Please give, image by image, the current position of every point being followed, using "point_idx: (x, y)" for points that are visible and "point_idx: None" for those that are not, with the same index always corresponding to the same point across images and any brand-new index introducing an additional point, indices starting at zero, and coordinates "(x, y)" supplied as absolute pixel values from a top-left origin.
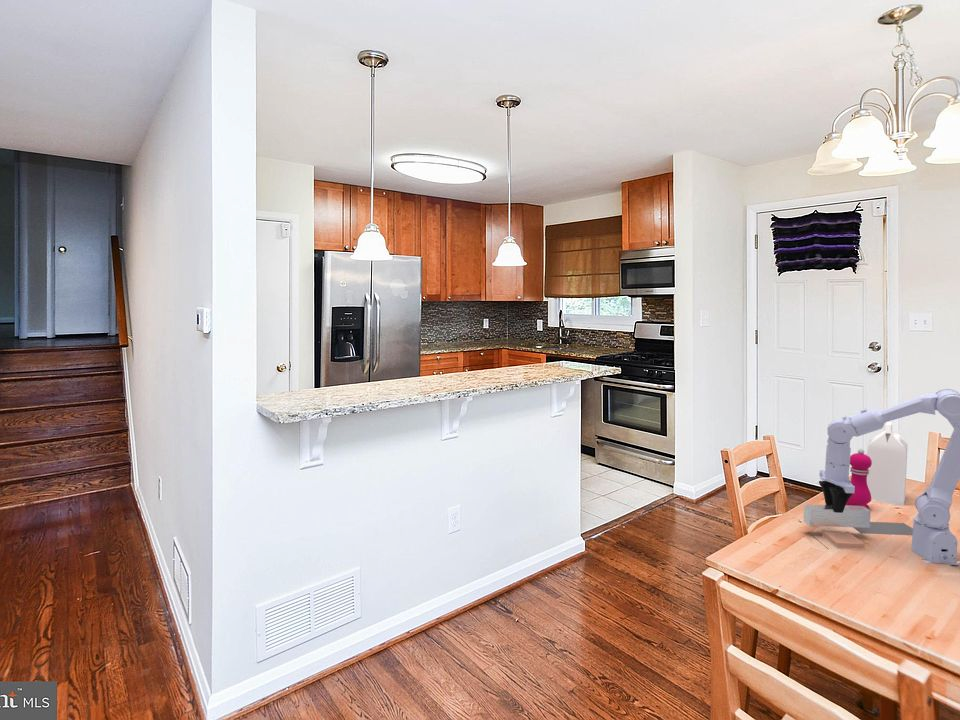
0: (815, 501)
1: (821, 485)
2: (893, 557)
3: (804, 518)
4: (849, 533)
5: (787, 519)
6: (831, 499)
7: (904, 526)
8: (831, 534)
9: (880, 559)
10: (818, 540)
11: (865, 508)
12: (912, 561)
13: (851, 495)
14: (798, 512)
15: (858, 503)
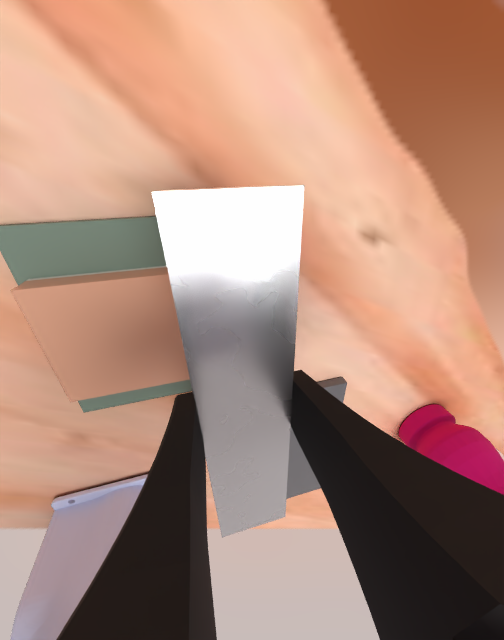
0: (494, 349)
1: (491, 530)
2: (73, 441)
3: (245, 186)
4: (188, 375)
5: (399, 184)
6: (313, 441)
7: (305, 486)
8: (148, 301)
9: (23, 408)
10: (120, 222)
11: (248, 523)
12: (63, 474)
13: (456, 449)
14: (446, 267)
15: (424, 443)
